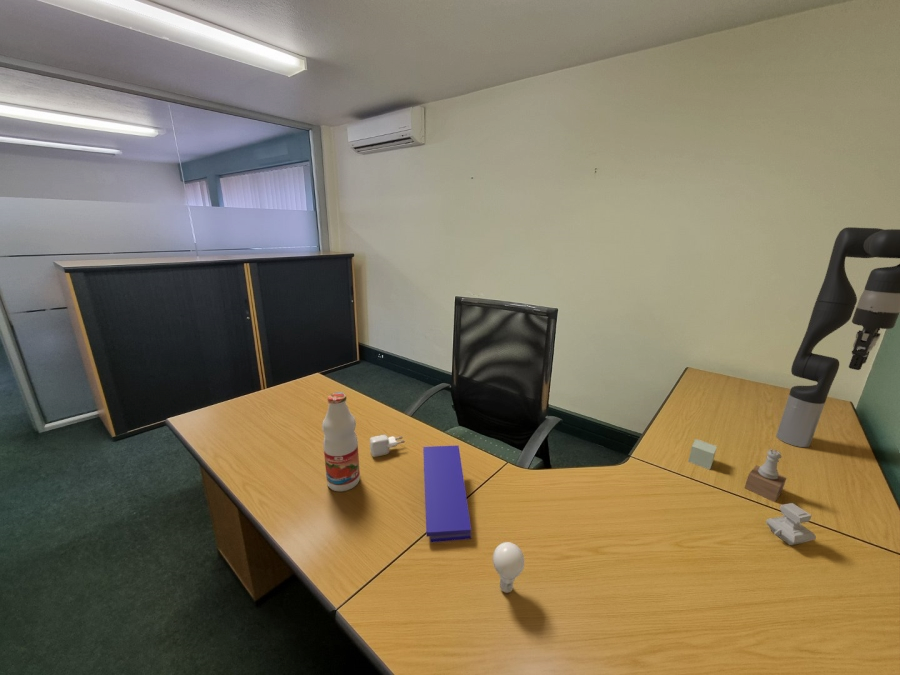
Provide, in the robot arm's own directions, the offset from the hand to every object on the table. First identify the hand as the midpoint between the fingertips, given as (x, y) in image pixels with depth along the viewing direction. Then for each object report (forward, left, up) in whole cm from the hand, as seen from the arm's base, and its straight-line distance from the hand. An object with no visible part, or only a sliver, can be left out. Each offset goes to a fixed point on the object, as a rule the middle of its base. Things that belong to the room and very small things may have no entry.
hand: (856, 365), depth 99 cm
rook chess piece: (+18, -8, -33) cm, 39 cm away
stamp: (+35, +1, -38) cm, 52 cm away
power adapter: (+100, -88, -38) cm, 139 cm away
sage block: (+18, -24, -38) cm, 49 cm away
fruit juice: (+118, -82, -38) cm, 149 cm away
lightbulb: (+102, -30, -38) cm, 113 cm away
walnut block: (+18, -8, -38) cm, 43 cm away
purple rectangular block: (+98, -58, -39) cm, 121 cm away
